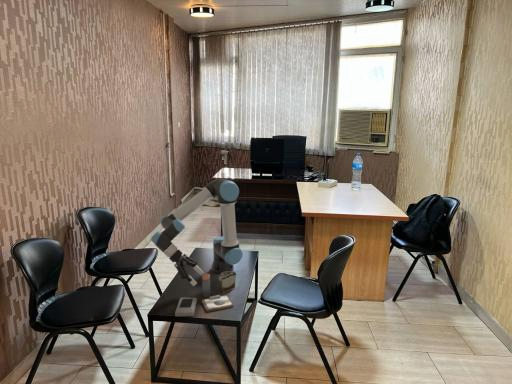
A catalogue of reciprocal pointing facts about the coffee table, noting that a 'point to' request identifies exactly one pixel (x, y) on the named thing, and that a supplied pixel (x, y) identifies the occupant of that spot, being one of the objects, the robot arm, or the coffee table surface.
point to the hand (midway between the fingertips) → (199, 279)
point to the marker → (206, 285)
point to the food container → (227, 280)
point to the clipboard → (217, 303)
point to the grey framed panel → (186, 307)
